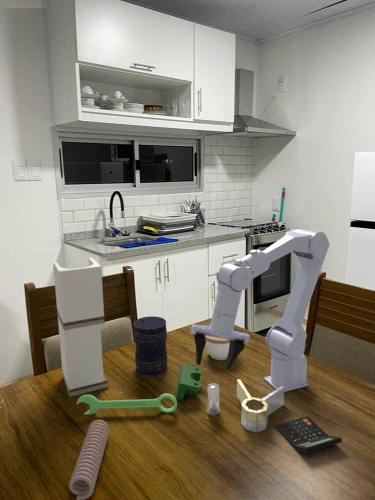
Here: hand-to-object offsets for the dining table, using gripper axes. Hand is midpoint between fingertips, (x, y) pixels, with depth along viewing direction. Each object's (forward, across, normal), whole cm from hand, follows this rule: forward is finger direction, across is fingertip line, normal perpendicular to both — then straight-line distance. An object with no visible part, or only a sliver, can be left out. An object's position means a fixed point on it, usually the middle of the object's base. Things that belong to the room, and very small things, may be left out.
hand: (212, 365), depth 95 cm
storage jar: (+13, -11, +25) cm, 30 cm away
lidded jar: (+7, +11, +29) cm, 32 cm away
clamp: (+12, -2, +11) cm, 16 cm away
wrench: (+17, -18, +4) cm, 25 cm away
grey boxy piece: (+18, -30, +20) cm, 40 cm away
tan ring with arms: (+9, +14, -1) cm, 17 cm away
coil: (+20, -24, -12) cm, 34 cm away
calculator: (+9, +22, -12) cm, 26 cm away
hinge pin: (+12, +3, 0) cm, 12 cm away
